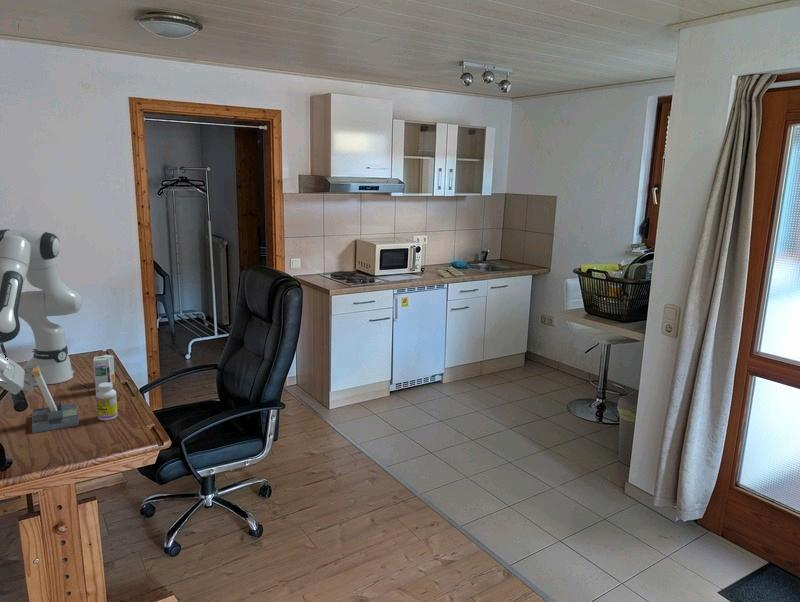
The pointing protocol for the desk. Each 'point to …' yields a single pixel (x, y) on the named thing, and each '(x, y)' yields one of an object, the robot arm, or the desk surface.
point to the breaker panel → (55, 418)
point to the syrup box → (102, 370)
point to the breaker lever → (44, 389)
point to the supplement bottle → (106, 402)
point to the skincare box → (111, 367)
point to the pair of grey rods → (47, 407)
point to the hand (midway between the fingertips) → (33, 389)
